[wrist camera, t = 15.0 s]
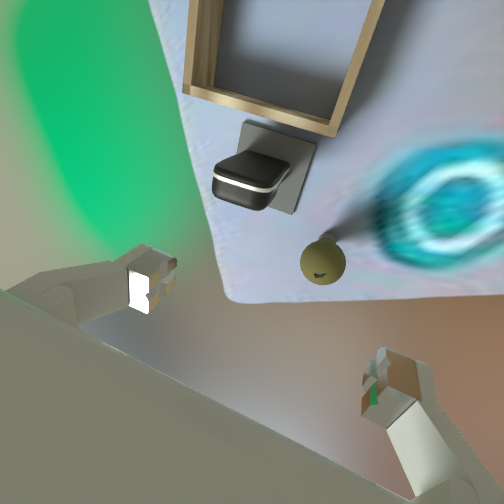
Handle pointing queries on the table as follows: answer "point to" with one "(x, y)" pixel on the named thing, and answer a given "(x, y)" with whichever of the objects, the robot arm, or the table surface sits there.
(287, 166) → the battery charger
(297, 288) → the table surface
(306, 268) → the light bulb
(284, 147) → the pad
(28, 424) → the robot arm
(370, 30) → the box
